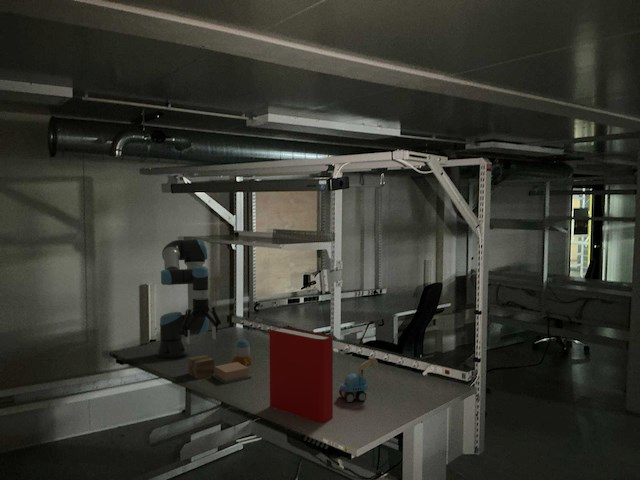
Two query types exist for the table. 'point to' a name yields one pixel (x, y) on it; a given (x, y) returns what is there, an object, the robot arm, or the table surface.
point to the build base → (231, 372)
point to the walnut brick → (201, 366)
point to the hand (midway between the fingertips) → (201, 341)
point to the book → (302, 373)
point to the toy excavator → (357, 383)
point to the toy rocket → (243, 353)
